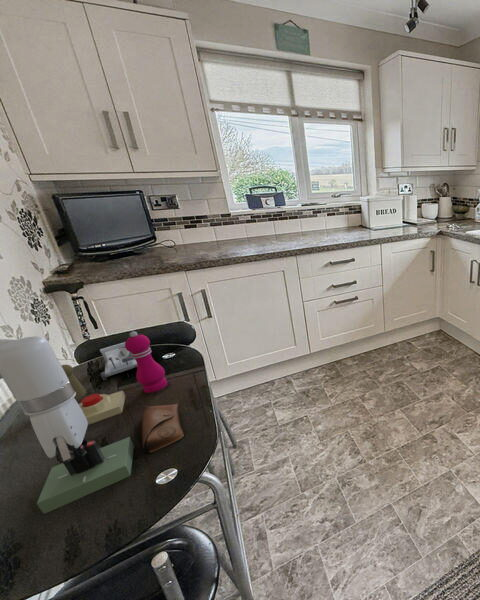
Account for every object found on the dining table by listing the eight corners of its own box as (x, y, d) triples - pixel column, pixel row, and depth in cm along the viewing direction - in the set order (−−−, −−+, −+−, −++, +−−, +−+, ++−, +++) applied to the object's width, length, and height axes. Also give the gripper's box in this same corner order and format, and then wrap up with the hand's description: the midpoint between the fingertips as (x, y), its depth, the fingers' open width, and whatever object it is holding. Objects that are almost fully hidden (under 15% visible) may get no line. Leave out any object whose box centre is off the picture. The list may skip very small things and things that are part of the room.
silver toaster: (135, 346, 112) (91, 360, 105) (145, 371, 116) (103, 385, 109) (133, 331, 125) (94, 342, 119) (142, 353, 129) (105, 365, 122)
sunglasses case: (186, 435, 82) (162, 423, 78) (163, 459, 80) (137, 449, 76) (178, 402, 95) (157, 391, 91) (158, 422, 93) (136, 411, 89)
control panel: (43, 514, 65) (36, 503, 64) (58, 477, 74) (51, 466, 72) (130, 475, 72) (125, 465, 71) (134, 446, 81) (129, 436, 80)
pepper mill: (145, 397, 100) (119, 339, 93) (140, 388, 105) (115, 333, 98) (171, 385, 105) (149, 329, 98) (166, 377, 110) (144, 324, 103)
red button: (82, 409, 91) (79, 404, 90) (85, 402, 94) (82, 397, 94) (100, 403, 93) (98, 398, 92) (103, 396, 96) (100, 391, 96)
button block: (66, 432, 88) (59, 420, 86) (74, 413, 96) (68, 402, 94) (122, 412, 94) (116, 401, 93) (125, 396, 102) (120, 385, 100)
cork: (59, 399, 104) (43, 369, 100) (84, 388, 108) (69, 360, 104) (64, 405, 100) (47, 374, 96) (89, 394, 105) (74, 364, 101)
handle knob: (70, 475, 70) (59, 457, 68) (72, 470, 71) (61, 452, 69) (103, 462, 73) (93, 443, 71) (104, 457, 74) (94, 439, 72)
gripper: (34, 386, 69) (73, 452, 76) (6, 427, 57) (55, 502, 64) (80, 373, 73) (113, 436, 80) (63, 408, 61) (104, 480, 67)
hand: (87, 465), depth 72 cm, fingers closed on handle knob
